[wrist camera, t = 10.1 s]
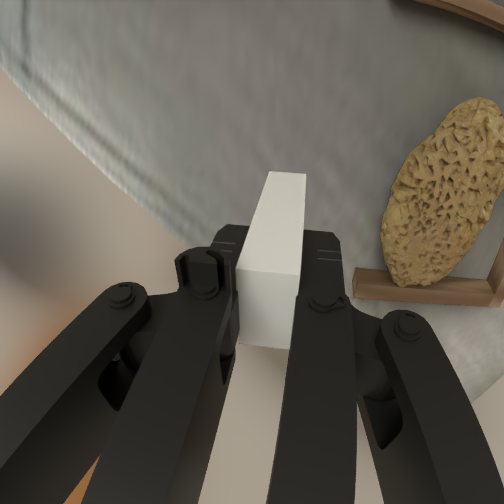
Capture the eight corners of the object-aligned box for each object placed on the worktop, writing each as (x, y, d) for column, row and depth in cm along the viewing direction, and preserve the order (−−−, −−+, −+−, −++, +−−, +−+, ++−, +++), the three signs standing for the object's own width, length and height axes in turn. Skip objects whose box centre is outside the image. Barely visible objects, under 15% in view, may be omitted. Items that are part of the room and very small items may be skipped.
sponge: (448, 80, 24) (328, 222, 30) (502, 90, 17) (359, 266, 24) (498, 163, 29) (399, 281, 35) (543, 188, 22) (431, 324, 29)
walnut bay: (385, -23, 18) (393, -31, 16) (551, 43, 15) (567, 44, 13) (352, 281, 37) (354, 297, 34) (491, 292, 34) (499, 307, 31)
